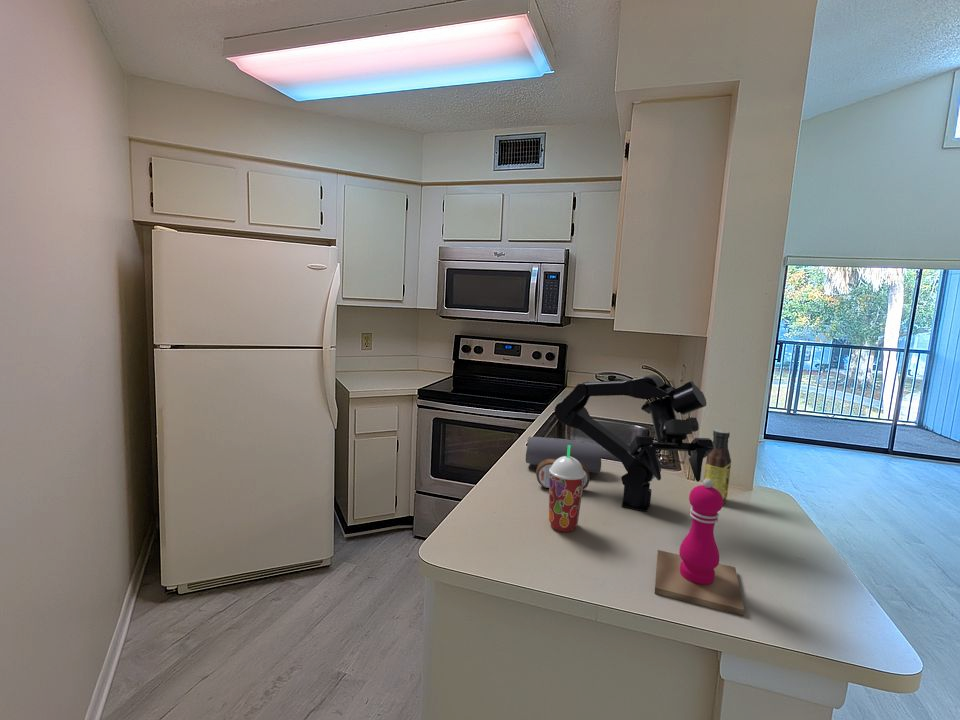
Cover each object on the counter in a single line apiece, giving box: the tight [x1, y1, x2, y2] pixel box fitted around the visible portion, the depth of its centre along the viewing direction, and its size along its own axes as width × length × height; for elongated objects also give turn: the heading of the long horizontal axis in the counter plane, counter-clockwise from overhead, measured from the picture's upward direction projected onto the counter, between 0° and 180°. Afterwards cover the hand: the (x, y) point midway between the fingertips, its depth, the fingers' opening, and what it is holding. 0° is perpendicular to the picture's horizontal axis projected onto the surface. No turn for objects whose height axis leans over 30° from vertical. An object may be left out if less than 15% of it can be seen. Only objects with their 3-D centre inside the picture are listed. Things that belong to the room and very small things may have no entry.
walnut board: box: [654, 549, 745, 617], centre depth 98 cm, size 15×15×1 cm
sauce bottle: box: [703, 428, 732, 505], centre depth 137 cm, size 7×6×20 cm
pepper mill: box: [678, 479, 724, 585], centre depth 96 cm, size 7×7×20 cm
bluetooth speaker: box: [525, 436, 603, 473], centre depth 154 cm, size 23×9×10 cm, turn 77°
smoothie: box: [548, 445, 585, 533], centre depth 117 cm, size 8×8×20 cm
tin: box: [535, 459, 591, 490], centre depth 140 cm, size 15×3×8 cm, turn 84°
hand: (679, 480), depth 114 cm, fingers open, 9 cm apart
